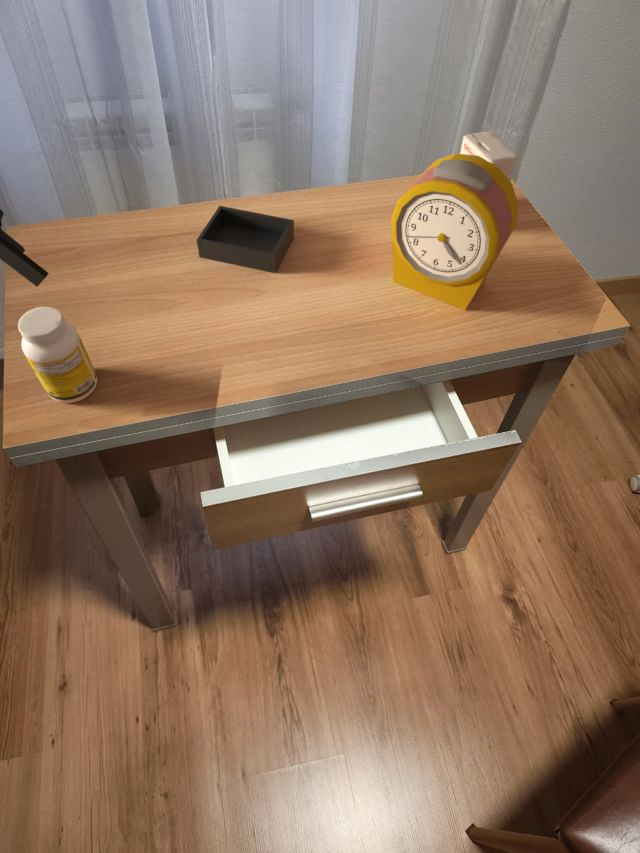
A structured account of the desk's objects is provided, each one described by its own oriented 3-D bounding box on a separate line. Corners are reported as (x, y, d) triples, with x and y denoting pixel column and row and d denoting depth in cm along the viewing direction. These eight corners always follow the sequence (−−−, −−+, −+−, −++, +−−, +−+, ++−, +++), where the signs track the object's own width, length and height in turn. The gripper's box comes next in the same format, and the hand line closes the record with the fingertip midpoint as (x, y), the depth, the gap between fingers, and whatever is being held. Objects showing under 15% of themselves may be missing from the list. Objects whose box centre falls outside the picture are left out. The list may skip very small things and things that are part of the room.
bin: (199, 257, 86) (196, 239, 83) (221, 222, 91) (219, 205, 89) (275, 273, 84) (275, 256, 82) (294, 237, 89) (294, 219, 87)
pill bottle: (55, 366, 72) (20, 300, 63) (103, 367, 72) (76, 301, 64) (40, 404, 69) (1, 340, 60) (92, 405, 69) (60, 341, 60)
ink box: (498, 226, 93) (521, 156, 83) (471, 232, 92) (491, 162, 82) (472, 197, 97) (491, 128, 88) (446, 203, 96) (462, 133, 87)
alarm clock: (380, 280, 84) (398, 160, 69) (404, 251, 88) (425, 132, 73) (474, 317, 80) (515, 199, 65) (494, 285, 84) (536, 166, 69)
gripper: (-115, 128, 63) (55, 264, 73) (-318, 268, 49) (-71, 413, 59) (-101, 83, 58) (80, 237, 68) (-323, 226, 43) (-52, 392, 54)
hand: (10, 319), depth 63 cm, fingers open, 13 cm apart
